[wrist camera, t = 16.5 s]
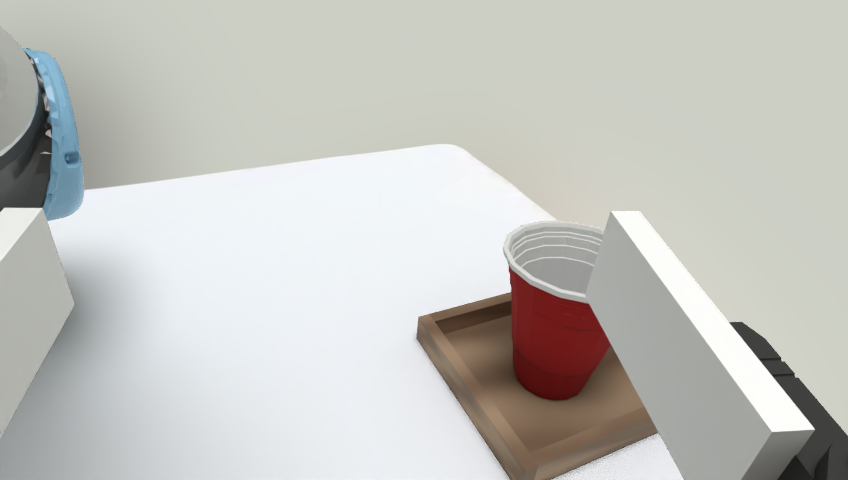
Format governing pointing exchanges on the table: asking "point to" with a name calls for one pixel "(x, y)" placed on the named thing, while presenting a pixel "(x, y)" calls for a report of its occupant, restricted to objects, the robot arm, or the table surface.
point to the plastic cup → (554, 307)
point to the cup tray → (529, 395)
